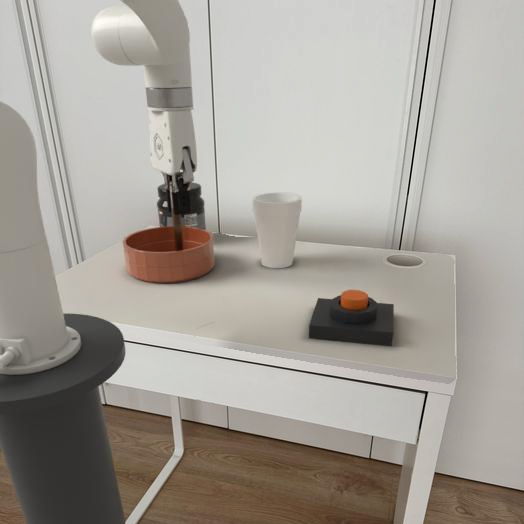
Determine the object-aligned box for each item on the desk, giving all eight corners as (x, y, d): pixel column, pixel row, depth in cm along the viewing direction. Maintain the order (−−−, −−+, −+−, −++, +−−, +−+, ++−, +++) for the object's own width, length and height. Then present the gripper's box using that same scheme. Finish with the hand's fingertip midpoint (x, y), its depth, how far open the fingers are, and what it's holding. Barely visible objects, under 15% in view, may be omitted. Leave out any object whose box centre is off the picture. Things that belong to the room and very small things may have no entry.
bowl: (198, 287, 94) (196, 255, 91) (111, 280, 97) (106, 249, 94) (225, 256, 109) (223, 228, 106) (148, 251, 112) (145, 223, 109)
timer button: (366, 312, 76) (367, 301, 75) (339, 309, 77) (339, 299, 76) (367, 301, 79) (369, 290, 78) (341, 299, 80) (342, 288, 79)
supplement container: (175, 231, 125) (170, 179, 119) (214, 235, 122) (211, 182, 116) (151, 243, 116) (145, 189, 111) (193, 248, 113) (189, 192, 107)
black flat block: (391, 346, 74) (395, 321, 72) (308, 338, 77) (309, 313, 75) (392, 316, 83) (395, 293, 81) (317, 310, 85) (318, 287, 83)
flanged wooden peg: (168, 265, 99) (159, 179, 92) (185, 262, 101) (177, 177, 93) (176, 271, 97) (168, 183, 89) (193, 267, 99) (187, 180, 91)
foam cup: (281, 252, 111) (281, 190, 104) (309, 263, 104) (312, 198, 98) (244, 261, 106) (242, 196, 99) (272, 274, 99) (272, 206, 93)
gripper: (131, 98, 89) (144, 206, 98) (167, 103, 78) (178, 225, 87) (171, 97, 93) (180, 201, 102) (212, 101, 81) (217, 218, 90)
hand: (179, 211), depth 94 cm, fingers closed on flanged wooden peg
